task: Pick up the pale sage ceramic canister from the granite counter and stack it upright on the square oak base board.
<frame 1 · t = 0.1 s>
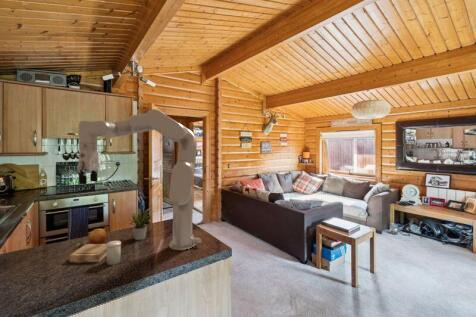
hand: (88, 182, 119), 31 cm above the counter, tool pointing down, fingers open, 9 cm apart
base: (91, 255, 110), on the counter
house plant: (142, 238, 133), on the counter
canister: (113, 261, 104), on the counter
fruit: (97, 243, 124), on the counter
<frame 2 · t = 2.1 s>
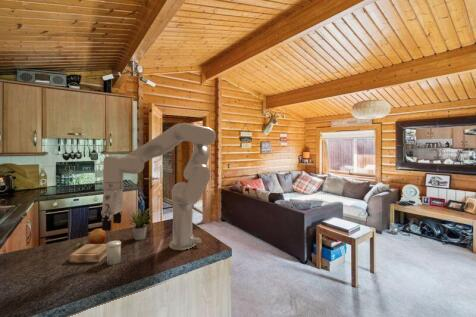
hand: (112, 226, 103), 15 cm above the counter, tool pointing down, fingers open, 9 cm apart
nothing on the counter moved.
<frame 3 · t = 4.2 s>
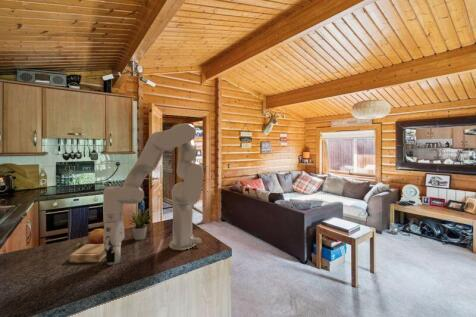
hand: (113, 258, 104), 1 cm above the counter, tool pointing down, fingers closed on canister, 5 cm apart
canister: (113, 261, 104), on the counter, touching gripper
everything else where it was.
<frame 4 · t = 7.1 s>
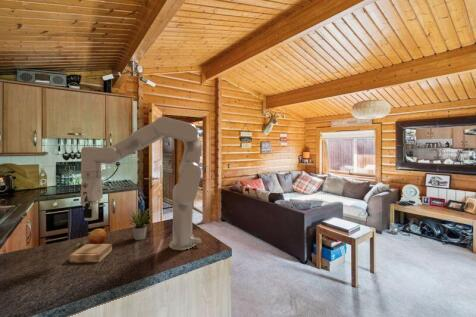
hand: (91, 215, 109), 18 cm above the counter, tool pointing down, fingers closed on canister, 5 cm apart
canister: (91, 218, 109), point 17 cm above the counter, touching gripper
everything else where it was.
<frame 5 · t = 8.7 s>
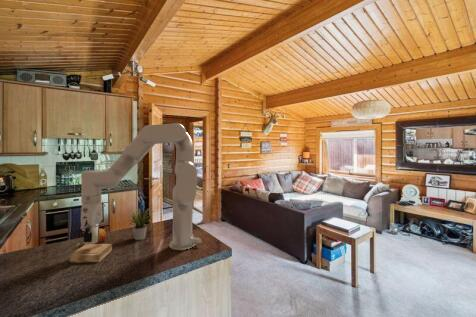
hand: (91, 238, 109), 8 cm above the counter, tool pointing down, fingers closed on canister, 5 cm apart
canister: (91, 242, 109), point 6 cm above the counter, touching gripper
everything else where it was.
when the fingers open (6 cm above the counter, at t = 10.0 s): canister drops 1 cm, resting on base.
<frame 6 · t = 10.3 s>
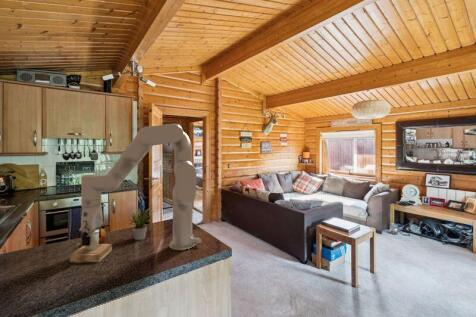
hand: (91, 241, 109), 7 cm above the counter, tool pointing down, fingers open, 8 cm apart
canister: (92, 248, 110), point 3 cm above the counter, touching base
everything else where it was.
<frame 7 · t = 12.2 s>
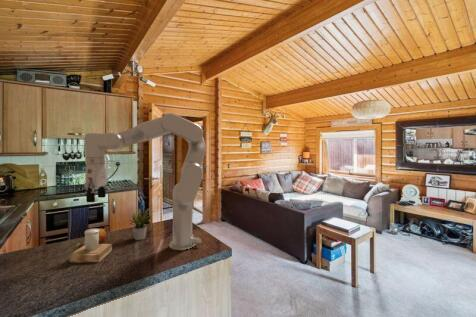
hand: (96, 199, 110), 25 cm above the counter, tool pointing down, fingers open, 9 cm apart
nothing on the counter moved.
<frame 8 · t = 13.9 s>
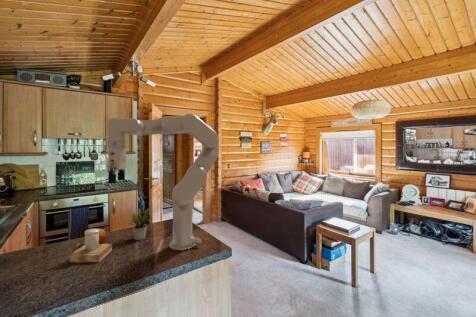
hand: (116, 181, 116), 32 cm above the counter, tool pointing down, fingers open, 9 cm apart
nothing on the counter moved.
at the end: canister inside the target area on the base (0.0 cm from its centre), point 3.3 cm above the base's base; canister tilted 0°; the gripper is holding nothing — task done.
